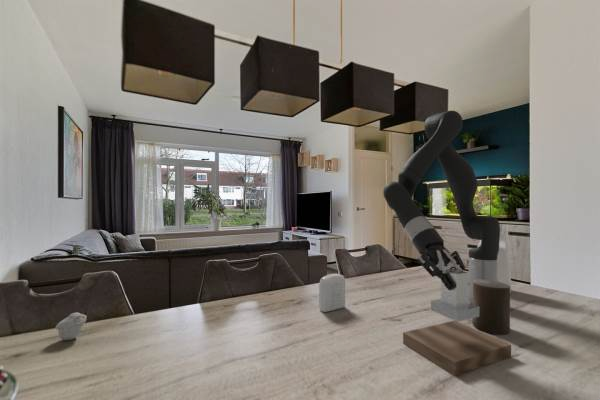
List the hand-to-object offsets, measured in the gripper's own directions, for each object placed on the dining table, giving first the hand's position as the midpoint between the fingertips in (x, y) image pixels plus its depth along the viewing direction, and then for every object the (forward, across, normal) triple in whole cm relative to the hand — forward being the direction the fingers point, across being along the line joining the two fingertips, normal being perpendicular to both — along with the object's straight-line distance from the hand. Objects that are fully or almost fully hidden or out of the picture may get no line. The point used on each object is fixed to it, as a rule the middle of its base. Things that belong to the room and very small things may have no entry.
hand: (459, 287), depth 75 cm
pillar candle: (+8, +22, +16) cm, 29 cm away
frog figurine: (-22, -94, +47) cm, 107 cm away
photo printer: (-16, -15, +40) cm, 45 cm away
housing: (+4, 0, +6) cm, 7 cm away
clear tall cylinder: (-10, +60, +33) cm, 69 cm away
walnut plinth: (+11, 0, +13) cm, 17 cm away
